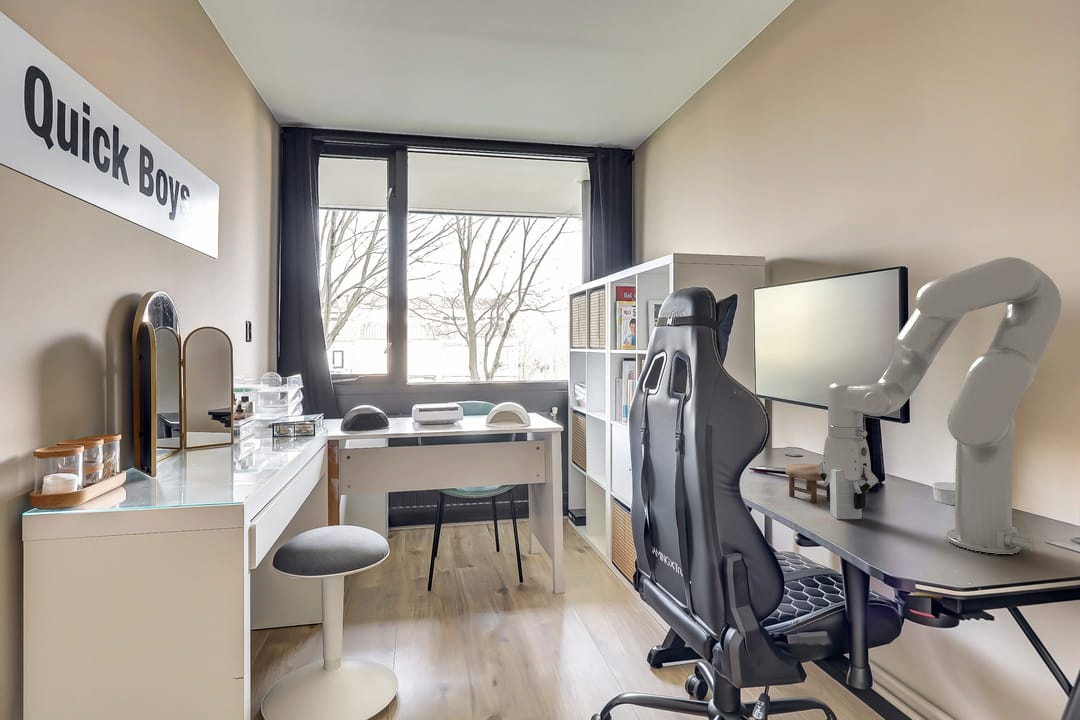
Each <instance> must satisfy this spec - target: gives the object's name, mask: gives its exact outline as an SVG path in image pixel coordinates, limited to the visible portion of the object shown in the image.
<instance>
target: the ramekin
mask: <svg viewBox="0 0 1080 720" xmlns="http://www.w3.org/2000/svg"><path fill="white" fill-rule="evenodd" d="M931 487H932V491H933V499H934V501H935V502H938V503H941V504H943V505H944V504H945V505H947V506H948V505H949V506H955V482H951V481H950V482H949V481H937V482H936V481H935V482H932V483H931Z"/></svg>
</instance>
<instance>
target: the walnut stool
mask: <svg viewBox="0 0 1080 720" xmlns="http://www.w3.org/2000/svg"><path fill="white" fill-rule="evenodd" d="M818 465H819V464H818V463H817V464H815V463H792V464H791V463H790V464H787V465H786V466H785V475H787V476H788V496H789V498H794V497H795V495H796V494H795V491H797V492H799V493H804V494H806V495H810V503H811V504H813V505H814V504H818V503H817V501H818V500H817V498H818V495H817V494H818V493H817V492H818V490H817V489H820V490H823V491H826V492H827V486H826V485H821V484H818V483H817V482H820V481H821V482H824V481H823V479H822V478H821V476H820V474H819V473H818V471H817V470H816V467H817V466H818ZM795 479H797V480H804V481H805V488H802V487H798V486H795Z"/></svg>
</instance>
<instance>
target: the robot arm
mask: <svg viewBox="0 0 1080 720" xmlns="http://www.w3.org/2000/svg"><path fill="white" fill-rule="evenodd" d="M1003 303H1004V304H1005V312H1004V314H1003V317H1002V319H1001V321H1000V323H999V325H998V327H997V330H996V333H995V335H994V337H993V339H992V340H991V343H990V345H989V347H988V349H987V350H986V352H984V353H982V354H980V355H979V356H978V357H976V358H975V359H974V360H973V362H972V363H971V365H970V367H969V368H968V370H967V373H966V375H965V377H964V379H963V382H962V384H961V386H960V388H959V390H958V393H957V394H956V397H955V399H954V401H953V404H952V406H951V408H950V410H949V413H948V415H947V416H948V417H947V421H946V422H947V423H946V424H947V427H948V428H947V429H948V431H949V433H950V435H951V436H952V438H953V439H955V441H956V450H955V482H954V483H955V505H954V507H955V508H954V529H950V530H948V531H946V533H945V538H946V540H947V541H948V542H949V543H950V542H951V544H952V543H953V544H952V545H954V544H955V545H954V546H956V545H958V546H957V547H959V546H960V547H959V548H961V547H964V548H967V549H966V550H968V549H971V550H970V551H972V550H978V551H985V552H994V553H1006V554H1007V553H1016V554H1018V553H1020V552H1021V551H1022V549H1023V550H1027V551H1031V552H1033V551H1034V549H1035V545H1036V544H1035V541H1034V539H1033V538H1030V537H1028V536H1022V535H1020V534H1019V533H1018V527H1016V526H1013V525H1012V522H1013V521H1012V518H1013V515H1012V514H1013V476H1014V475H1013V474H1014V472H1013V471H1014V470H1013V468H1014V467H1013V466H1014V447H1015V445H1014V444H1015V437H1016V436H1015V435H1016V420H1015V413H1016V410H1018V409H1017V408H1018V407H1019V404H1020V402H1021V400H1022V398H1023V396H1024V394H1025V392H1026V390H1027V389H1028V388H1029V387H1030V386H1031V384H1033V382H1034V380H1035V377H1036V374H1037V371H1038V368H1039V366H1040V365H1041V364H1040V363H1041V361H1042V359H1043V358H1044V357H1043V356H1044V355H1045V353H1046V351H1047V349H1048V346H1049V343H1050V341H1051V338H1052V337H1053V334H1054V332H1055V330H1056V328H1057V325H1058V321H1059V319H1060V317H1061V313H1062V299H1061V294H1060V290H1059V288H1058V287H1057V285H1056V283H1055V282H1054V280H1053V279H1051V278H1050V276H1049V275H1048V274H1046V272H1045V271H1043V270H1042V269H1040V268H1039V267H1037V265H1035V264H1033V263H1031V262H1030V261H1027V260H1024V259H1022V258H1020V257H1019V258H1018V257H999V258H996V259H993V260H989V261H987V262H986V261H985V262H984V263H981V264H978V265H975V266H972V267H970V268H966V269H963V270H960V271H958V272H957V271H956V272H954V273H952V274H948V275H946V276H945V275H944V276H942V277H939V278H935V279H933V280H930V281H928V282H926V283H925V284H924V285H923V286H921V288H920V289H919V290H918V292H917V294H916V296H915V307H916V308H915V309H914V311H913V312H912V314H911V315H910V317H909V318H908V319H907V321H906V323H905V325H904V326H903V327H902V329H901V330H900V331H899V333H898V335H897V336H896V339H895V341H894V355H893V358H892V360H891V362H890V364H889V365H888V367H887V368H886V370H885V372H884V373H883V375H882V376H881V377H880V379H879V380H878V382H876V383H872V384H863V385H862V384H859V383H857V382H850V381H848V382H847V381H842V382H841V381H840V382H839V381H837V382H832V383H830V384H829V385H828V389H827V416H828V417H827V420H828V421H827V424H828V425H827V427H828V428H827V434H828V435H827V436H826V437H825V440H824V441H825V442H824V446H823V454H822V455H823V456H822V461H821V462H820V463H819V464H818V466H817V467H816V470H817V471H818V473H819V474H820V476H821V478H822V479H823V481H822V482H823V484H824V486H826V487H827V491H826V501H827V502H829V503H830V476H831V470H832V469H836V470H841V471H843V475H844V479H846V480H849V481H852V482H853V484H854V487H855V489H856V493H854V508H855V509H857V510H858V509H862V510H863V509H865V508H866V501H867V500H866V493H868V492H869V490H870V489H872V488H873V486H875V485H876V484H877V483H878V482H879V479H878V477H877V476H876V475H875V474H874V473H873V472H872V467H871V466H872V465H871V456H870V450H869V445H868V442H867V439H864V437H867V436H868V432H867V430H864V422H863V421H864V420H863V419H864V415H867V416H871V417H882V416H886V415H888V414H890V413H893V412H896V411H898V410H900V409H901V408H902V407H904V405H905V404H906V402H907V401H908V400H909V399H910V397H911V396H912V394H913V393H914V392H915V390H916V389H917V387H918V386H919V384H920V383H921V381H922V379H924V377H925V375H926V373H927V372H928V370H929V368H930V367H931V366H932V364H933V362H934V360H935V358H936V356H937V355H938V353H939V352H940V350H941V349H942V347H943V346H944V344H945V343H946V342H947V340H948V339H949V337H950V336H951V335H952V333H953V332H954V330H955V329H956V328H957V327H958V325H959V323H960V322H961V321H962V320H963V318H964V317H965V316H966V313H967V314H968V313H970V312H974V311H979V310H981V309H986V308H988V307H992V306H995V305H999V304H1003ZM866 480H867V481H866ZM859 483H860V484H859ZM964 548H963V549H964ZM1020 550H1021V551H1020ZM1019 551H1020V552H1019ZM1017 552H1018V553H1017Z"/></svg>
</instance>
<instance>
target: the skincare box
mask: <svg viewBox="0 0 1080 720" xmlns="http://www.w3.org/2000/svg"><path fill="white" fill-rule="evenodd" d="M859 484H860V483H859ZM854 493H856V489H855V487H854V484H853V482H852V481H849V480H846V479H844V475H843V471H841V470H836V469H832V470H831V476H830V502H829V506H830V507H829V508H830V509H829V510H830V511H829V513H830V515H831V516H832V517H833V518H835V519H837V520H861V519H863V508H862V509H858V510H857V509H855V508H854Z"/></svg>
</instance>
